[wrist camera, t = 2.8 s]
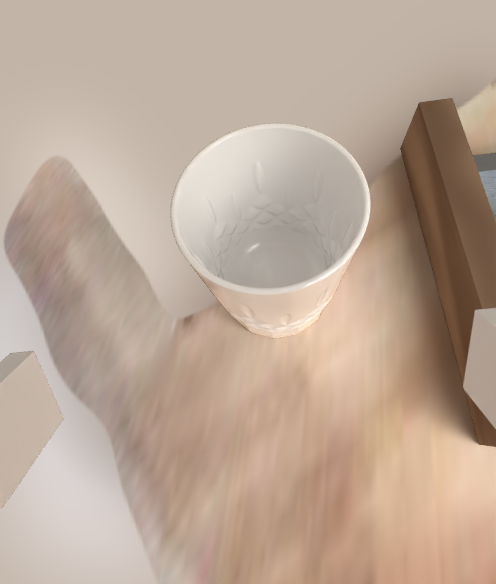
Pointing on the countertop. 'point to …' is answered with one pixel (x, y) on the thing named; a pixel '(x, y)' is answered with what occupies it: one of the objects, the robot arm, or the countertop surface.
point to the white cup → (271, 223)
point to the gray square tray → (488, 176)
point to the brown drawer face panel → (453, 227)
